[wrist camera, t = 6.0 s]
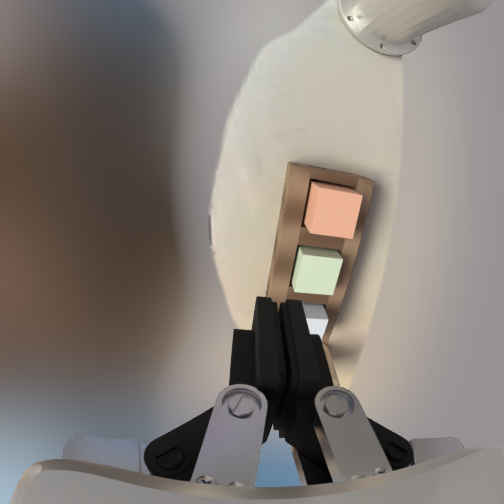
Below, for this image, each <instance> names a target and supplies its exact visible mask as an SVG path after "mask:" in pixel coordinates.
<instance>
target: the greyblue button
mask: <svg viewBox="0 0 504 504" xmlns="http://www.w3.org/2000/svg"><path fill="white" fill-rule="evenodd" d="M302 304H303V308H304V312H305V316H306V320H307V324H308V328H309V331H310V334H318V335H320V338H321V340H322V337H323V334H324V332H325V329H326V326H327V323H328V320H329V319H328V317H327V314H326V312H325V309H324V306H323V304H317V303H304V302H302Z"/></svg>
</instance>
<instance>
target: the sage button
mask: <svg viewBox="0 0 504 504" xmlns="http://www.w3.org/2000/svg"><path fill="white" fill-rule="evenodd" d="M342 262H343V258H342V257H341V255H340V254H339V252H338V251H337V250H336V249H329V248H321V247H313V246H305V245H297V249H296V254H295V259H294V264H293V268H292V273H291V281H292V285H293V289H294V292H299V293H311V294H323V295H333V293H334V289H335V286H336V283H337V279H338V276H339V272H340V269H341V265H342Z"/></svg>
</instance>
